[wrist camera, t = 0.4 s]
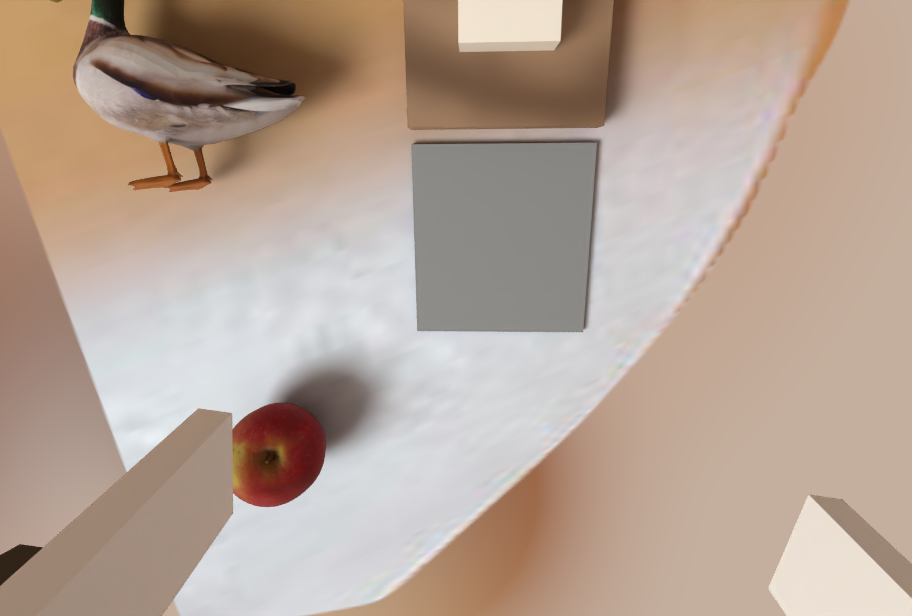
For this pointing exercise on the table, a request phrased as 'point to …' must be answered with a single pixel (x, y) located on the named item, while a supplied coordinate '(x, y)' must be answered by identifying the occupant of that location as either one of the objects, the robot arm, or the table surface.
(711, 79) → the table surface
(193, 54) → the decorative duck model
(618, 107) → the table surface
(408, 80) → the brown wooden board
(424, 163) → the mat
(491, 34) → the tile
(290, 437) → the apple
